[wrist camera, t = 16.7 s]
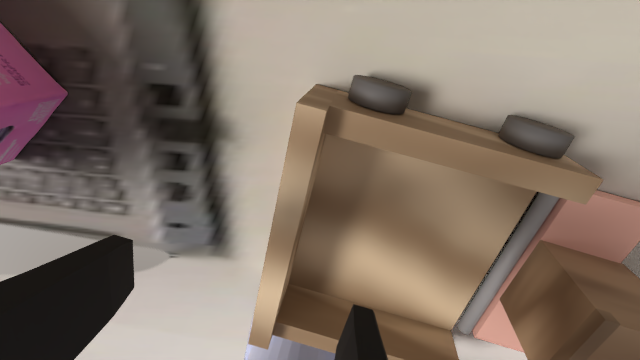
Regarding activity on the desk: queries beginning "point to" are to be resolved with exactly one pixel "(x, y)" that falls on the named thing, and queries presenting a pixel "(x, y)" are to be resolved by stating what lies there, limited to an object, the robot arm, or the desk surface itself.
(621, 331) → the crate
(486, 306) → the tailgate
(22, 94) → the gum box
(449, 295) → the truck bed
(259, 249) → the desk surface
